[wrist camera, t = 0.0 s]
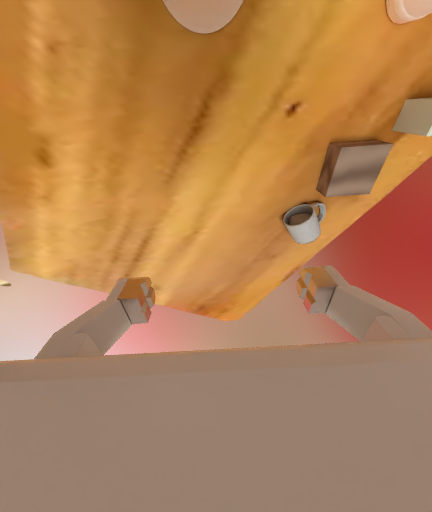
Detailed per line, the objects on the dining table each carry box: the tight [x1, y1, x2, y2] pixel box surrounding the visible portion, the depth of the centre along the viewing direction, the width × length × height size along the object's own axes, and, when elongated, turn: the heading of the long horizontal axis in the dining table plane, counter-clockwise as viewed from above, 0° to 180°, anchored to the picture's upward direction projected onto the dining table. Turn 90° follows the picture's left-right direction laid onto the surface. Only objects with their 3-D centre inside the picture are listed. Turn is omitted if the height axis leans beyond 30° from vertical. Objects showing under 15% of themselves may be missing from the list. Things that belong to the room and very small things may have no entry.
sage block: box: [392, 98, 432, 136], centre depth 34 cm, size 5×5×8 cm
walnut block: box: [316, 140, 393, 197], centre depth 42 cm, size 10×10×5 cm
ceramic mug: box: [283, 202, 326, 244], centre depth 48 cm, size 11×8×8 cm
